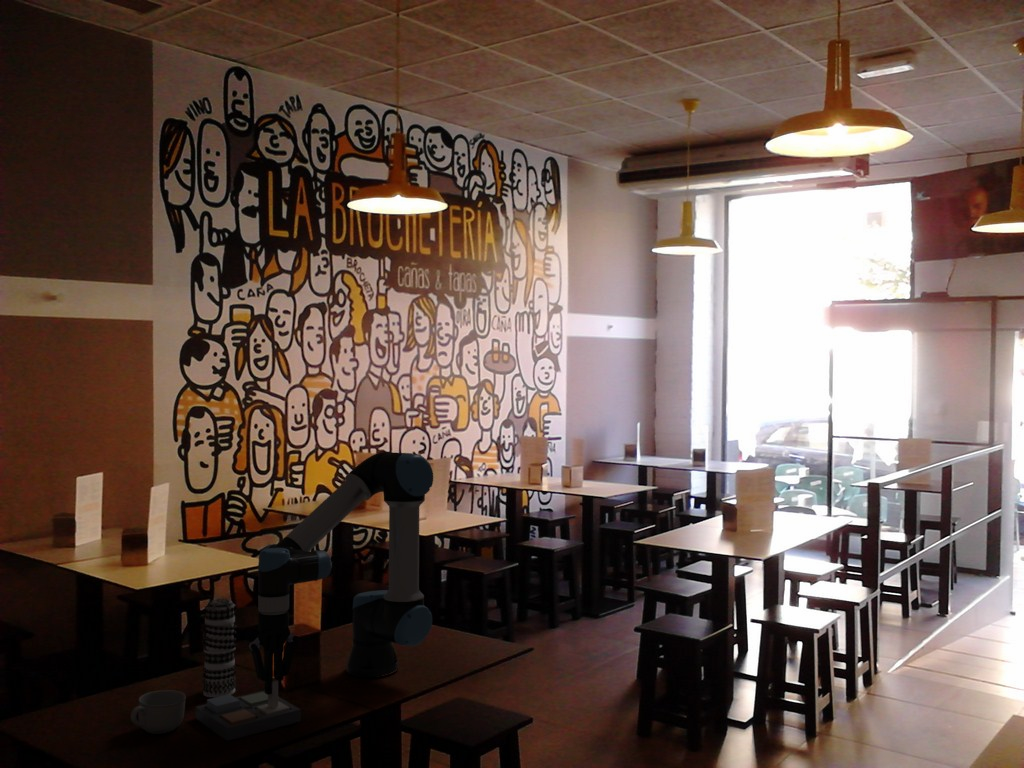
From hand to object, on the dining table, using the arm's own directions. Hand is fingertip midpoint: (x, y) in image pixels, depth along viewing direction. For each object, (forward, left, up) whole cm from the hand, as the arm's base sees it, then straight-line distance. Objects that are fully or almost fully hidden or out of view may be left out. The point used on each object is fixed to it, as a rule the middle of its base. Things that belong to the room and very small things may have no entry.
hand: (272, 706), depth 220 cm
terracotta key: (+9, 0, -3) cm, 10 cm away
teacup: (+24, -12, -4) cm, 28 cm away
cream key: (0, 0, -3) cm, 3 cm away
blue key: (+9, -9, -2) cm, 13 cm away
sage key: (0, -9, -3) cm, 10 cm away
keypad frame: (+4, -5, -4) cm, 7 cm away
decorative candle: (+1, -29, -4) cm, 29 cm away
